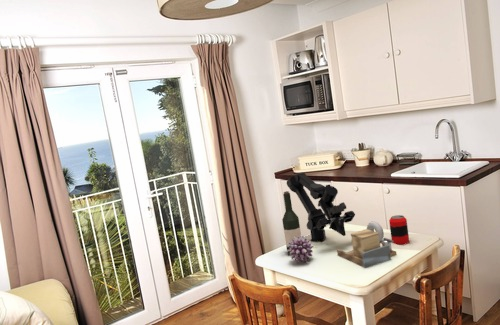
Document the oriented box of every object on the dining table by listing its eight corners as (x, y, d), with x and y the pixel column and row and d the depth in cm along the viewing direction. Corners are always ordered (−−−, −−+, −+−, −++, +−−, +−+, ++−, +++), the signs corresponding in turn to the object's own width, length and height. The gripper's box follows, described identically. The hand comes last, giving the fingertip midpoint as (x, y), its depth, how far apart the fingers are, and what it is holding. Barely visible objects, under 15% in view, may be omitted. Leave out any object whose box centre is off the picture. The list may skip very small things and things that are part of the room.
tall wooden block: (354, 258, 181) (350, 233, 180) (369, 253, 184) (366, 229, 183) (365, 264, 174) (362, 237, 173) (382, 258, 177) (378, 232, 175)
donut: (386, 243, 196) (383, 222, 195) (380, 245, 195) (378, 224, 194) (372, 238, 205) (369, 219, 204) (366, 240, 204) (363, 220, 203)
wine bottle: (290, 249, 209) (281, 190, 206) (306, 249, 205) (297, 189, 202) (284, 255, 202) (274, 194, 198) (300, 255, 198) (291, 193, 195)
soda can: (412, 242, 192) (409, 217, 190) (396, 246, 191) (393, 220, 189) (404, 238, 199) (401, 213, 198) (389, 241, 198) (385, 216, 197)
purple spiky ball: (317, 256, 194) (314, 231, 192) (312, 266, 182) (308, 240, 181) (293, 257, 198) (289, 232, 196) (286, 267, 187) (282, 241, 185)
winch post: (379, 256, 182) (377, 238, 181) (388, 253, 184) (386, 235, 183) (389, 260, 176) (387, 242, 175) (399, 257, 178) (396, 239, 177)
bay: (337, 256, 190) (335, 242, 189) (361, 248, 194) (359, 235, 193) (365, 269, 171) (363, 253, 170) (391, 260, 175) (389, 245, 174)
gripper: (316, 202, 193) (332, 231, 184) (350, 193, 199) (367, 220, 190) (309, 216, 201) (325, 244, 192) (343, 207, 207) (359, 233, 198)
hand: (344, 235), depth 193 cm, fingers closed
